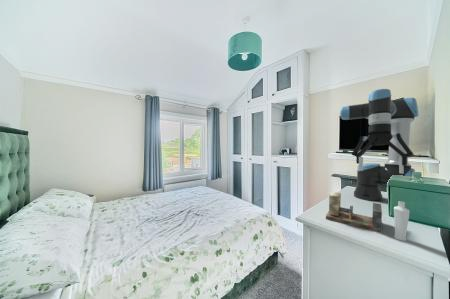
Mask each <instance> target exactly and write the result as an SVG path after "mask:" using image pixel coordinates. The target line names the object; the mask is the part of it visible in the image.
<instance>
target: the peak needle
mask: <svg viewBox="0 0 450 299" xmlns="http://www.w3.org/2000/svg"><path fill="white" fill-rule="evenodd" d="M348 209H349V220H351V218H352V215H353V213H354V205H350V206H349V208H348Z"/></svg>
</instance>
